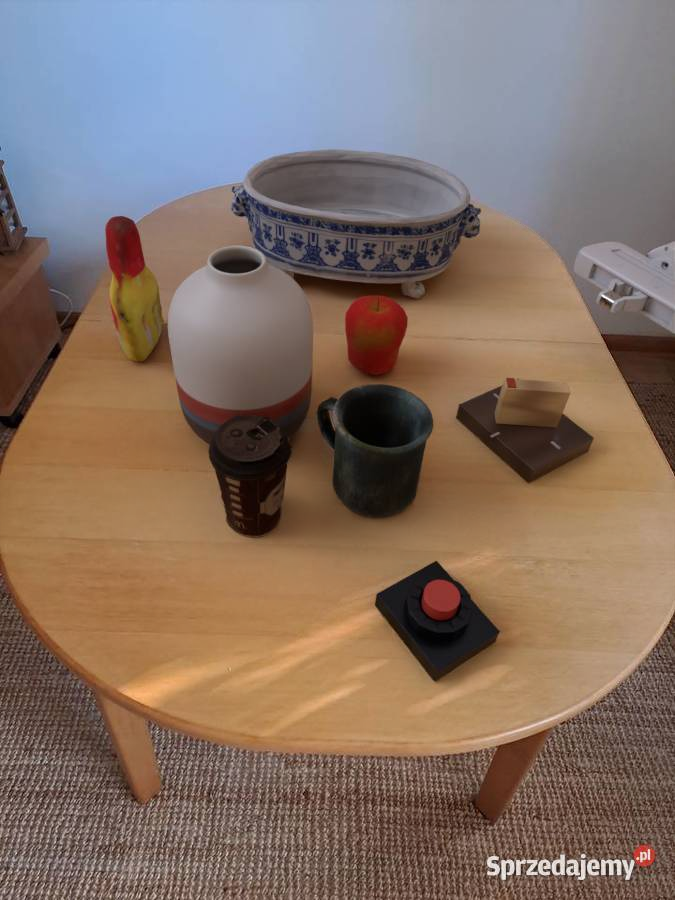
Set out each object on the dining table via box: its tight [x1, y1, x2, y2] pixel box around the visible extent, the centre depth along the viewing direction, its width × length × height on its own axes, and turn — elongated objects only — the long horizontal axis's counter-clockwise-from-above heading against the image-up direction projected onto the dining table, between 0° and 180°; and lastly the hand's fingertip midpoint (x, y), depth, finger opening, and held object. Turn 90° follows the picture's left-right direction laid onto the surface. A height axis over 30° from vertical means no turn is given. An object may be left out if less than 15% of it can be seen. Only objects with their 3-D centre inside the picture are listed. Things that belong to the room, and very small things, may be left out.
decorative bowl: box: [230, 149, 482, 299], centre depth 114 cm, size 42×27×15 cm, turn 85°
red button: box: [421, 580, 460, 621], centre depth 66 cm, size 4×4×2 cm
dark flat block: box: [455, 378, 595, 484], centre depth 89 cm, size 14×12×3 cm
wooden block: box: [494, 377, 571, 427], centre depth 86 cm, size 8×2×6 cm, turn 87°
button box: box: [374, 560, 501, 683], centre depth 68 cm, size 10×8×4 cm
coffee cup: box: [208, 414, 293, 538], centre depth 73 cm, size 9×8×13 cm
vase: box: [167, 244, 314, 445], centre depth 81 cm, size 17×17×24 cm
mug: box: [316, 383, 435, 518], centre depth 78 cm, size 11×15×12 cm
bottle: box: [104, 215, 165, 362], centre depth 93 cm, size 12×6×20 cm, turn 179°
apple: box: [344, 294, 409, 376], centre depth 94 cm, size 9×8×12 cm
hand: (605, 303), depth 86 cm, fingers closed
